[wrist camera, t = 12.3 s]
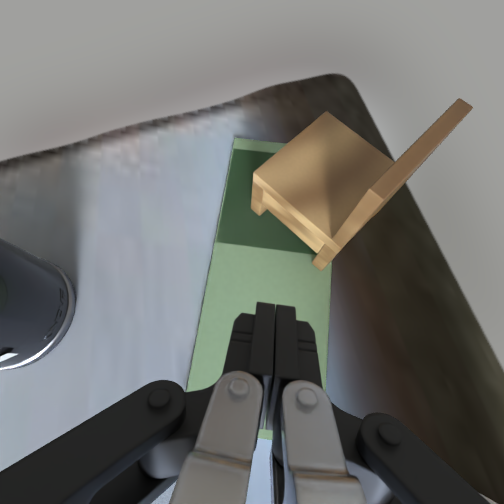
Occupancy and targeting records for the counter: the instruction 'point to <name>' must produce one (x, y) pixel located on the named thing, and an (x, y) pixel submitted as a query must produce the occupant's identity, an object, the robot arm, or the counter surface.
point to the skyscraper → (489, 500)
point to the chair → (338, 180)
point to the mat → (255, 272)
